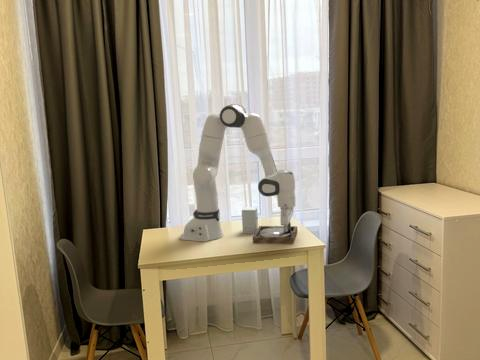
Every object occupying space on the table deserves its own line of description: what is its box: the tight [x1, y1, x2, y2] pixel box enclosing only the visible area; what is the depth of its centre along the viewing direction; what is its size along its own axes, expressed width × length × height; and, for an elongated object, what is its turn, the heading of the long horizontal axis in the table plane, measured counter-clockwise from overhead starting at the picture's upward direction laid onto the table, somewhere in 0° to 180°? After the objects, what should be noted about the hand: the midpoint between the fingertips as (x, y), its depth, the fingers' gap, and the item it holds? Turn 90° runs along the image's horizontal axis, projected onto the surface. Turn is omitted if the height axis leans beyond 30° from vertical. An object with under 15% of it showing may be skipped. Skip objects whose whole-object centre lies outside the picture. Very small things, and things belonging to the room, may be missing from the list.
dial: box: [260, 221, 292, 237], centre depth 248 cm, size 16×16×7 cm
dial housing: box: [252, 225, 298, 245], centre depth 249 cm, size 20×20×3 cm
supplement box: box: [241, 206, 259, 234], centre depth 261 cm, size 7×7×13 cm
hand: (287, 229), depth 247 cm, fingers open, 5 cm apart
